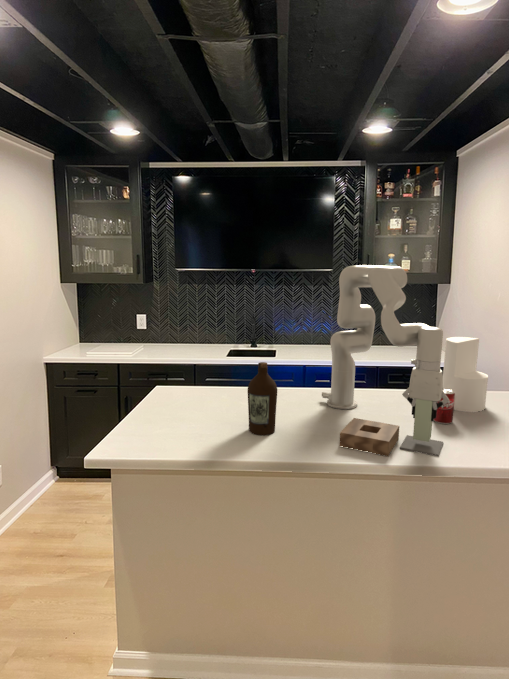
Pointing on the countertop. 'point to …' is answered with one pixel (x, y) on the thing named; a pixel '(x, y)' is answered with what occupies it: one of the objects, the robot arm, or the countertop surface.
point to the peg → (423, 420)
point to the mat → (422, 446)
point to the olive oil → (262, 402)
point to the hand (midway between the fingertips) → (423, 418)
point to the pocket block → (369, 436)
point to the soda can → (446, 409)
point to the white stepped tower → (464, 374)
